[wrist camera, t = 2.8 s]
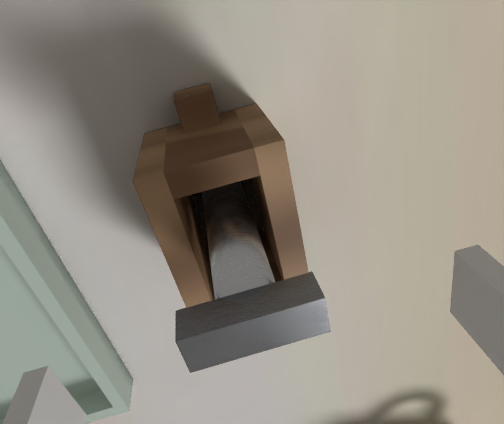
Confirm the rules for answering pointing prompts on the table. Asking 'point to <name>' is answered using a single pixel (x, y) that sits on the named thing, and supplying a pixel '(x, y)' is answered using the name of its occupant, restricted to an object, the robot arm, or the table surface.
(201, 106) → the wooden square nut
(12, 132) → the table surface
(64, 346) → the tray
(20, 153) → the table surface
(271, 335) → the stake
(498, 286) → the robot arm
